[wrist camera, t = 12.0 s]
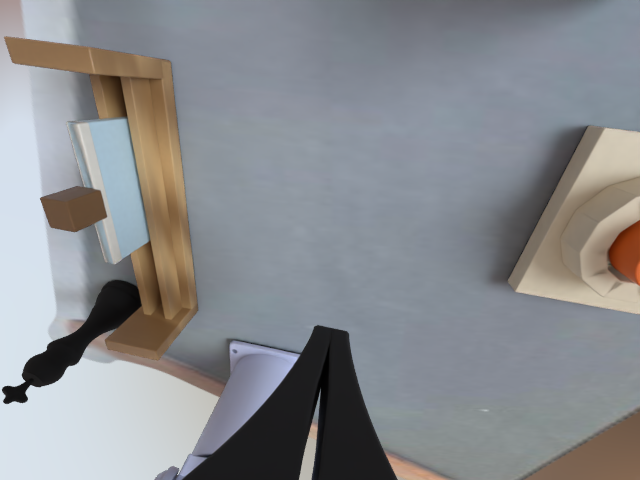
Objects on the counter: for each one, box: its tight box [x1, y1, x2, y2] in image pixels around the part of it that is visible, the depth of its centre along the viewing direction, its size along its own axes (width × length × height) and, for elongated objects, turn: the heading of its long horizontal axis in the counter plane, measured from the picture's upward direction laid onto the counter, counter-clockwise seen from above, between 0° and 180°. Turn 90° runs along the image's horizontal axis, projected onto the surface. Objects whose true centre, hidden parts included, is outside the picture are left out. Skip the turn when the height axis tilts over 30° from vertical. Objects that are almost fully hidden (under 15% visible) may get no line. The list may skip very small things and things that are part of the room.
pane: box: [40, 116, 150, 264], centre depth 16 cm, size 8×1×6 cm, turn 173°
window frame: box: [4, 36, 198, 361], centre depth 19 cm, size 19×4×6 cm, turn 173°
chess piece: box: [2, 280, 142, 404], centre depth 22 cm, size 4×4×10 cm
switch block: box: [508, 126, 640, 314], centre depth 15 cm, size 10×8×3 cm
